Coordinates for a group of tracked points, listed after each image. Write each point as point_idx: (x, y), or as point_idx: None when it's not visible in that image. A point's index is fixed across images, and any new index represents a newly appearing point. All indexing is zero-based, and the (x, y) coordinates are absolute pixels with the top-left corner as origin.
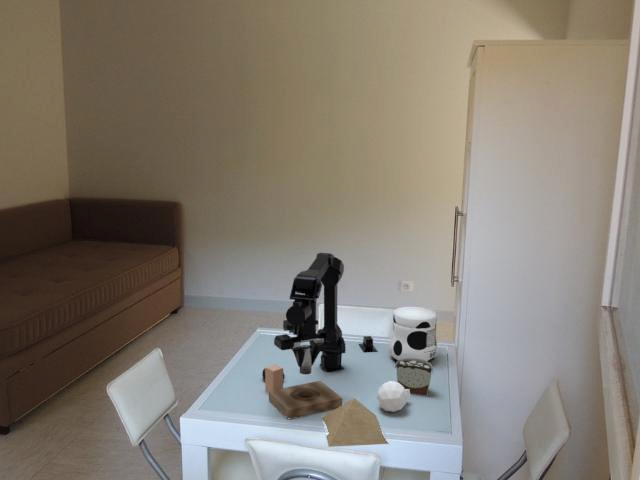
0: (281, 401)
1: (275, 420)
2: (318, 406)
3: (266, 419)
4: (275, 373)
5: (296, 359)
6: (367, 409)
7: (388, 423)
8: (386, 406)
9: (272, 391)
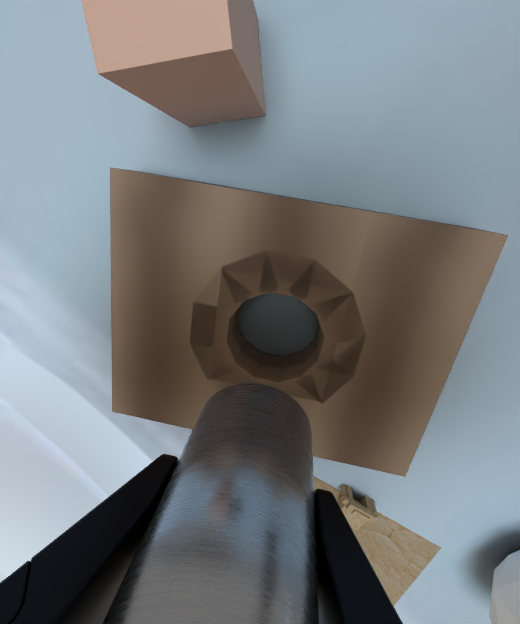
0: (121, 328)
1: (90, 359)
2: None
3: (61, 332)
4: (141, 80)
5: (85, 528)
6: None
7: (423, 595)
8: (489, 615)
9: (127, 189)
